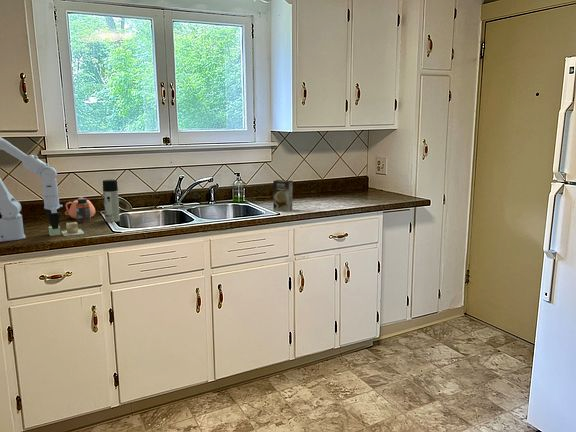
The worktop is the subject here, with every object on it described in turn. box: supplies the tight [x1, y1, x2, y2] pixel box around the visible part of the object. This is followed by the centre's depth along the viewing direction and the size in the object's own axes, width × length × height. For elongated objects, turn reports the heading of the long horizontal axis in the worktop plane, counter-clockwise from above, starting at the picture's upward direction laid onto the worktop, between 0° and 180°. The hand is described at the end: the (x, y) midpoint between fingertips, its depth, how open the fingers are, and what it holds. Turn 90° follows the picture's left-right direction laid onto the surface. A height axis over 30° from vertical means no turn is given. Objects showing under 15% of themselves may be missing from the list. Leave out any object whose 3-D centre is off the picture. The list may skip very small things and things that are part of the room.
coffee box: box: [272, 179, 294, 212], centre depth 258 cm, size 9×6×16 cm
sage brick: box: [48, 225, 61, 237], centre depth 204 cm, size 4×4×4 cm
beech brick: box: [65, 221, 79, 234], centre depth 207 cm, size 4×4×4 cm
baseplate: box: [60, 228, 85, 237], centre depth 208 cm, size 8×10×1 cm
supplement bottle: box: [76, 197, 92, 224], centre depth 230 cm, size 6×6×11 cm
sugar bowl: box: [64, 197, 96, 220], centre depth 239 cm, size 12×14×10 cm
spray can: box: [102, 179, 121, 223], centre depth 230 cm, size 7×7×20 cm
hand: (54, 227), depth 203 cm, fingers open, 7 cm apart
